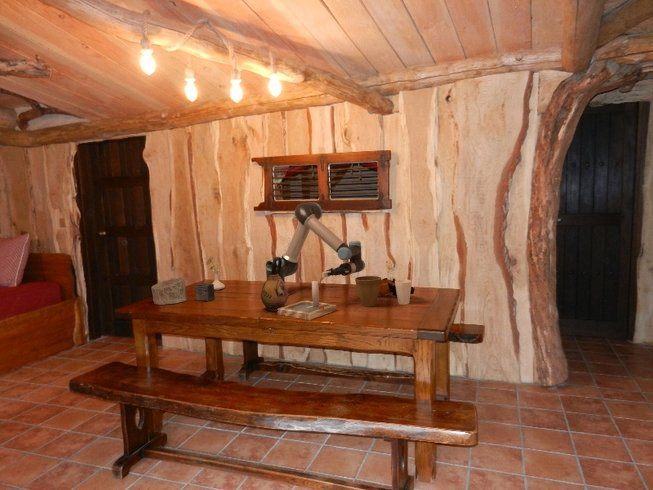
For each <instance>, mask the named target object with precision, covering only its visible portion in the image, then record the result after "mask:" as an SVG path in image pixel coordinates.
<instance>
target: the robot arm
mask: <svg viewBox="0 0 653 490" xmlns="http://www.w3.org/2000/svg"><path fill="white" fill-rule="evenodd" d="M294 216H295V218H296V220H297V221H298V223H297V226H296V229H295V231H294V233H293V235H292V238H291V240H290V243H289V245H288V247H287V250H286V252H284V253H282V256H281V257H280V258H281V259H282V265H281V270H280V277H281V279H282V280H283V282H284V284H285V285H286V282H285V281H286V280H285V279H286V278H285V277H289V276H292V275H294V274H295V273H297V272H298V270H299V266H300V265H299V256H300V253H301V251H302V249H303V246H304V244H305V242H306V240H307V238H308V235H309V233H310V231H311V232H313V233H314V234H315V235H316V236H317V237H318V238H319V239H321V240H322V241H323V242H324V243H325V244H326V245H327V246H328V247H330V249H332V250H333V251H334V252H335V253H336V254H337V256H338V259H340V260H341V261H346V262H343V263H340V265H339V266H338V267H335V268H333V267H330V268H328V269H326V270H325V271H324V272H321V278H322V279H323V278H324V279H325V278H328V277H332V276H335V277H336V276H345V277H346V276H352V274H355V273H360V272H362V271H363V270H365V267H366V264H365V261H364V260H363V259H362V245H361V244H362V243H361V241H359V240H353V241H352V240H351V241H349V242H348V245H347V243H346V242H344V241H343V240H342V239H341V238H340V237H339V236H337V235H336V234H335V233H334V232H333V231H332V230H331V229H329V228H328V227H327V226H326V225H325V224H324V223H323V222H321V221H320V219H321V217H322V216H323V209H322V207H321V205H320V204H318V203H317V202H302V203H299V204H297V206H296V207H295V209H294ZM273 259H274V258H273ZM273 259H269V260H268V261H271V262H273ZM348 260H349V261H348ZM276 264H277V266H278V261H276ZM271 271H272V270H271V269H270V268H267V267H266V266H265V273H266V275H265V277H266V279H267V278H268V277H269V276H270V274H271Z"/></svg>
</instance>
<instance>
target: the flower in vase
mask: <svg viewBox="0 0 653 490" xmlns="http://www.w3.org/2000/svg"><path fill="white" fill-rule="evenodd" d="M213 259H214V256H213V255H209V256H208V258H207V260H206V261H205V265H207V266H209V265H210V264H212V266H210V268H209V270H211V271H212V272H213V275H214V280H213V282H212V283H211V284H214V291H218V290H223V289H225V287H226V286H225V284H224V283H222V282H221V281H220V280H219V277H218V276H219V271H220V269H218V267H219V266H218V264H216V265H214V264H213Z"/></svg>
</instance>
